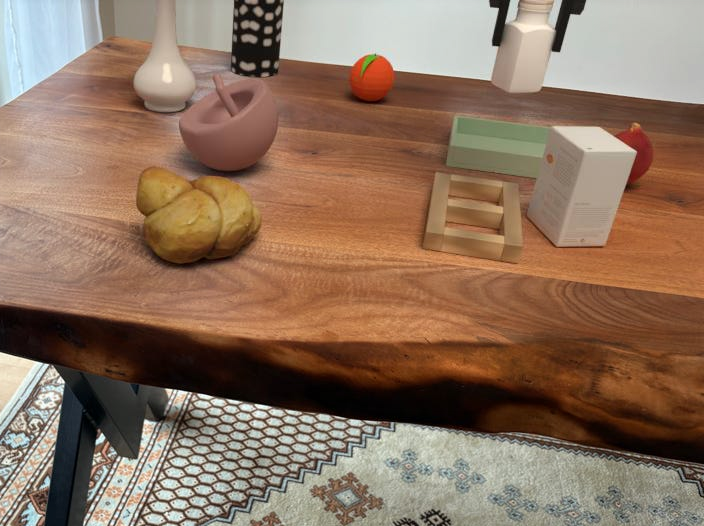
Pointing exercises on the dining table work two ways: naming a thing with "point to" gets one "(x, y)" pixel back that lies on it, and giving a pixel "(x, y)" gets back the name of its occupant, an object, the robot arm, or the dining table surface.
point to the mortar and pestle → (231, 125)
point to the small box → (580, 185)
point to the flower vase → (164, 66)
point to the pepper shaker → (525, 48)
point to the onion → (641, 145)
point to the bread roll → (195, 215)
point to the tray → (496, 146)
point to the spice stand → (475, 218)
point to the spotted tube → (256, 37)
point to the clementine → (371, 77)
